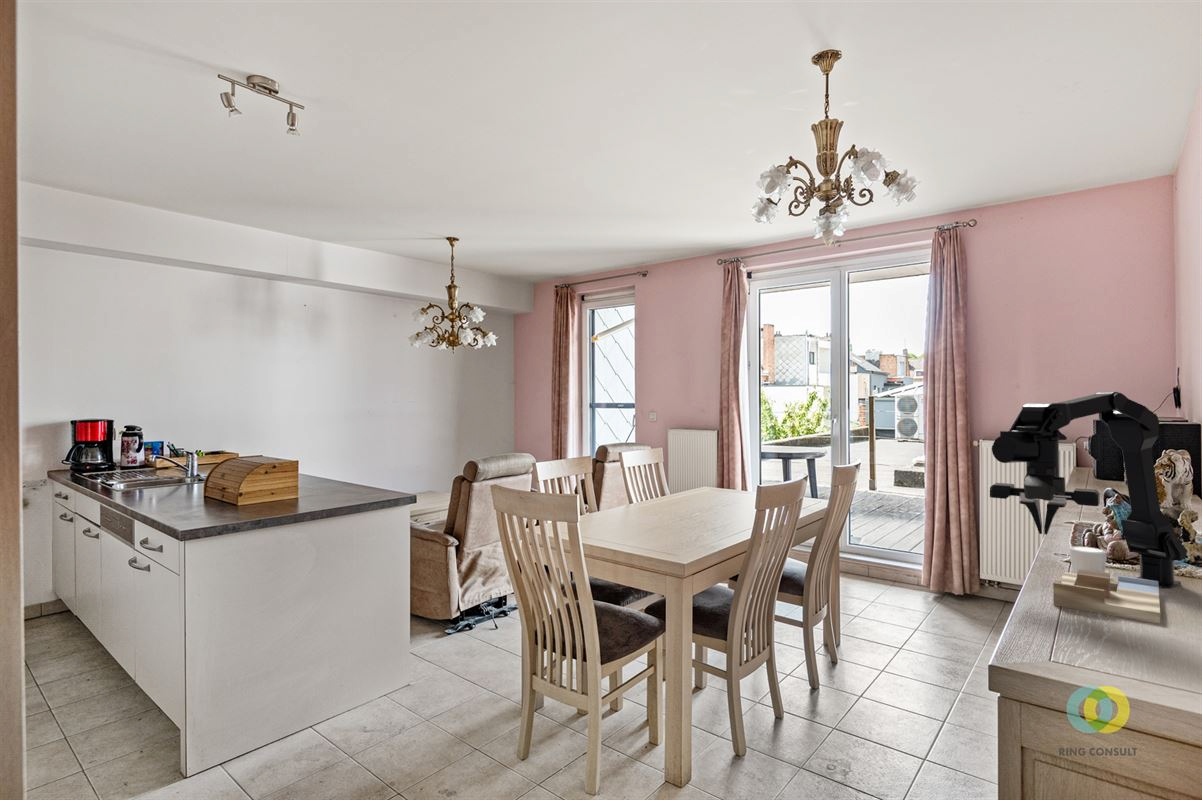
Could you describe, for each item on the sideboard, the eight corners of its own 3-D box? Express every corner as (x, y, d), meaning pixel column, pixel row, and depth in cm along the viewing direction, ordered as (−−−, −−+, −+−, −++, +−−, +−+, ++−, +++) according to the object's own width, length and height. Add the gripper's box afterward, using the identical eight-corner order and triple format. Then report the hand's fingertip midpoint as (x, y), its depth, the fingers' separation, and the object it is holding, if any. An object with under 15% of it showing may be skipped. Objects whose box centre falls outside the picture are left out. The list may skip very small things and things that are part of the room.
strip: (1118, 588, 134) (1118, 575, 134) (1158, 594, 130) (1158, 581, 130) (1117, 596, 128) (1117, 583, 129) (1159, 603, 124) (1158, 589, 124)
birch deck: (1064, 580, 140) (1064, 561, 140) (1158, 594, 129) (1158, 573, 129) (1053, 605, 124) (1053, 583, 124) (1160, 623, 113) (1159, 599, 113)
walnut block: (1079, 587, 128) (1079, 568, 128) (1110, 592, 125) (1109, 573, 125) (1077, 593, 125) (1077, 574, 125) (1108, 598, 121) (1108, 578, 121)
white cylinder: (1114, 584, 137) (1114, 553, 137) (1080, 582, 138) (1079, 552, 138) (1096, 575, 144) (1095, 546, 144) (1063, 574, 145) (1063, 545, 145)
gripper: (984, 462, 131) (985, 534, 131) (1095, 467, 118) (1097, 547, 118) (994, 458, 139) (994, 526, 139) (1099, 462, 127) (1100, 537, 126)
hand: (1043, 534), depth 130 cm, fingers closed
